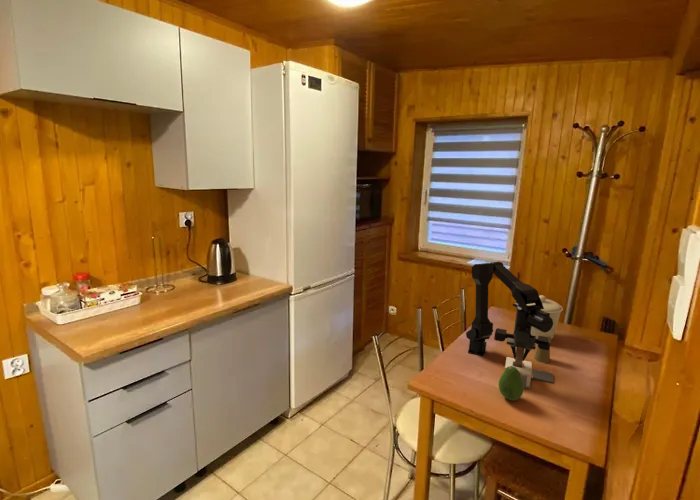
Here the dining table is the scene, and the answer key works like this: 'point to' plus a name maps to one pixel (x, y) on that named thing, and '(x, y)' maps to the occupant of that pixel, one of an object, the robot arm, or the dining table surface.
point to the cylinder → (519, 357)
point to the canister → (554, 314)
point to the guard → (522, 370)
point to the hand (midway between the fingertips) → (519, 359)
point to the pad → (542, 376)
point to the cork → (543, 353)
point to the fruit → (511, 384)
